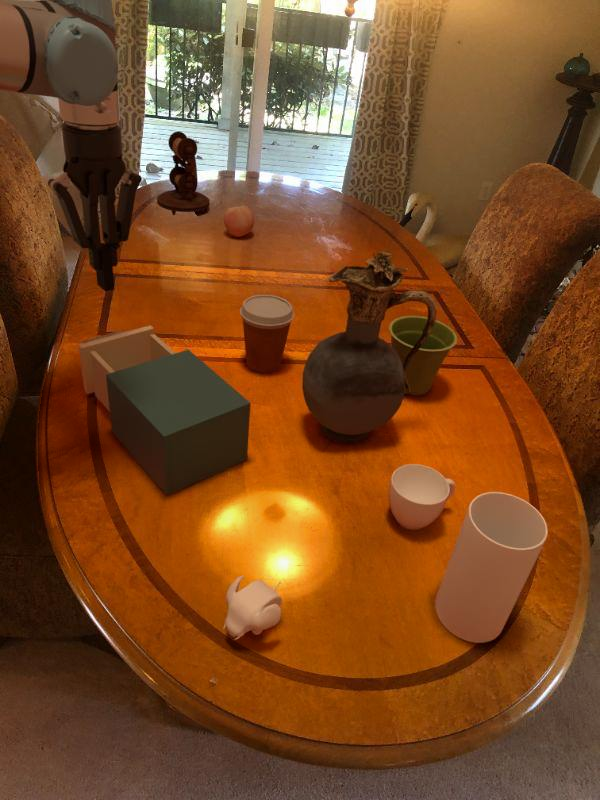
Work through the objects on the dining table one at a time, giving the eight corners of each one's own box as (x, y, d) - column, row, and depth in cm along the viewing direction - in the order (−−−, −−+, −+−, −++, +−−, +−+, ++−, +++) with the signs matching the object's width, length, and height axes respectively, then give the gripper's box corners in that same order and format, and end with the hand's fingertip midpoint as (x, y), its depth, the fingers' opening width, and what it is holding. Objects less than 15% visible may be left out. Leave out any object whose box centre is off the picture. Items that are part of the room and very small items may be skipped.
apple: (247, 229, 168) (249, 200, 164) (257, 240, 163) (259, 210, 158) (219, 231, 165) (220, 201, 161) (228, 242, 160) (229, 211, 155)
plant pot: (368, 389, 110) (378, 335, 104) (391, 361, 119) (402, 309, 113) (430, 412, 106) (446, 357, 100) (450, 381, 115) (465, 328, 109)
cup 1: (372, 506, 87) (380, 470, 83) (431, 490, 91) (441, 455, 87) (401, 546, 81) (411, 510, 77) (462, 527, 85) (475, 492, 81)
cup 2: (423, 616, 73) (456, 523, 63) (451, 572, 78) (485, 480, 69) (489, 656, 69) (534, 563, 60) (513, 607, 75) (557, 515, 66)
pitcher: (290, 412, 103) (309, 240, 85) (396, 405, 107) (435, 240, 90) (306, 455, 94) (331, 273, 77) (421, 445, 99) (469, 271, 81)
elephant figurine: (207, 626, 69) (207, 592, 65) (257, 584, 74) (260, 552, 71) (249, 666, 66) (252, 633, 62) (299, 620, 71) (304, 587, 67)
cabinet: (111, 432, 94) (105, 374, 88) (188, 404, 102) (188, 349, 96) (166, 496, 84) (163, 436, 78) (247, 460, 92) (250, 402, 86)
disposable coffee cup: (296, 374, 112) (303, 315, 105) (247, 381, 109) (250, 321, 102) (278, 347, 119) (283, 291, 112) (231, 353, 116) (233, 296, 109)
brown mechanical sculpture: (217, 214, 175) (219, 140, 164) (168, 219, 169) (165, 142, 157) (197, 197, 185) (197, 127, 174) (150, 201, 179) (146, 128, 167)
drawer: (71, 375, 104) (64, 329, 99) (138, 355, 111) (135, 311, 106) (128, 442, 91) (124, 393, 86) (200, 415, 98) (200, 368, 93)
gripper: (53, 133, 75) (75, 306, 89) (149, 127, 83) (156, 287, 96) (30, 119, 80) (54, 286, 93) (123, 114, 87) (133, 269, 101)
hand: (105, 286), depth 95 cm, fingers closed
